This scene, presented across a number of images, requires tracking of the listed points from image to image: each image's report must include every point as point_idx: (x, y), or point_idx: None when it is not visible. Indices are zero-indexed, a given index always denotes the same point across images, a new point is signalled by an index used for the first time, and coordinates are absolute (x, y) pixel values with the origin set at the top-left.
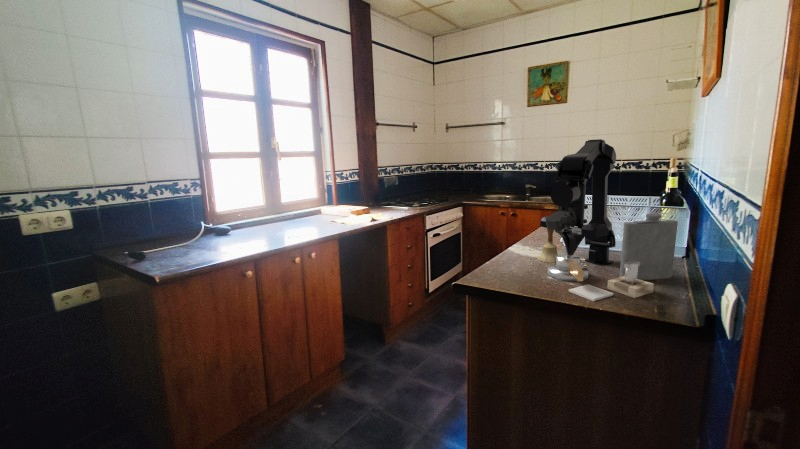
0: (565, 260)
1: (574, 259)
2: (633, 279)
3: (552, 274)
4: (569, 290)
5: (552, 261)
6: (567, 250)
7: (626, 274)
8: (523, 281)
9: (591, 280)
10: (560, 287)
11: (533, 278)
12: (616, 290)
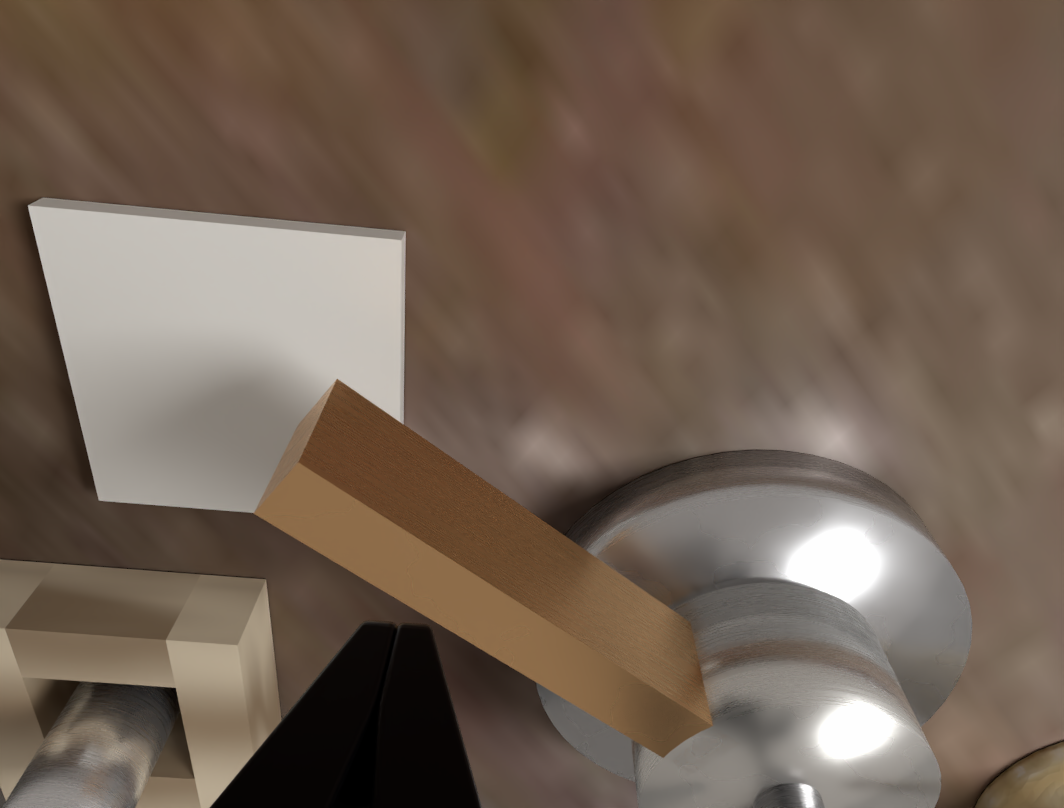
0: (747, 706)
1: (672, 782)
2: (38, 751)
3: (818, 478)
4: (388, 235)
5: (1032, 773)
6: (423, 699)
7: (71, 777)
8: (1045, 48)
9: None
10: (552, 268)
11: (978, 265)
12: (162, 580)
